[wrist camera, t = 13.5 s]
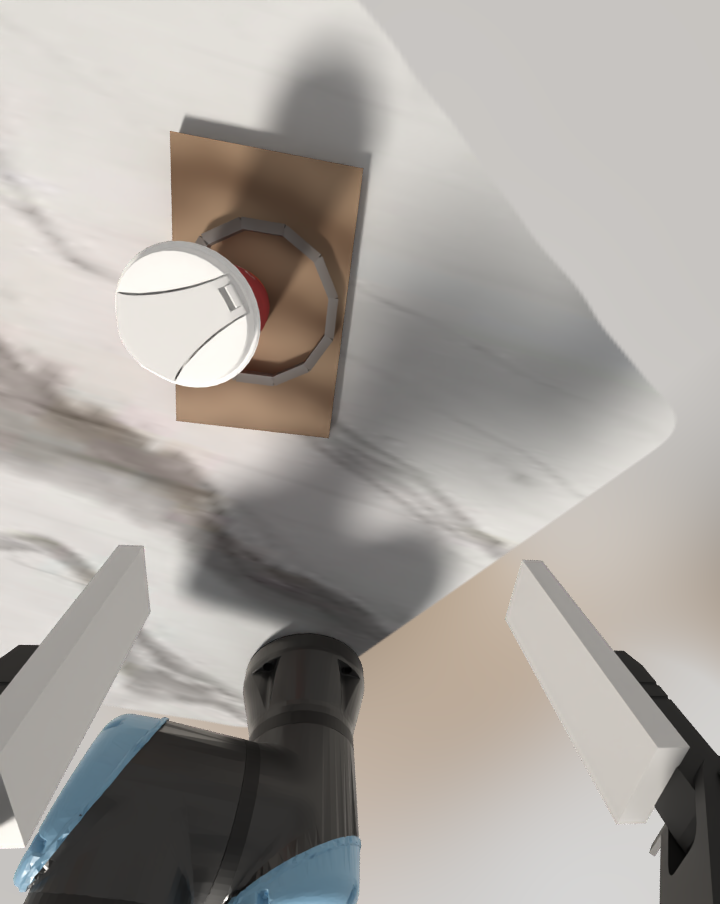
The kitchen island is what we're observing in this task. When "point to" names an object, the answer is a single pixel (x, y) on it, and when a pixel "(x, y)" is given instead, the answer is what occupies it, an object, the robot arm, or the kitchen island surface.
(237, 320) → the paper cup
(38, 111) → the kitchen island surface
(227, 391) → the seat board
